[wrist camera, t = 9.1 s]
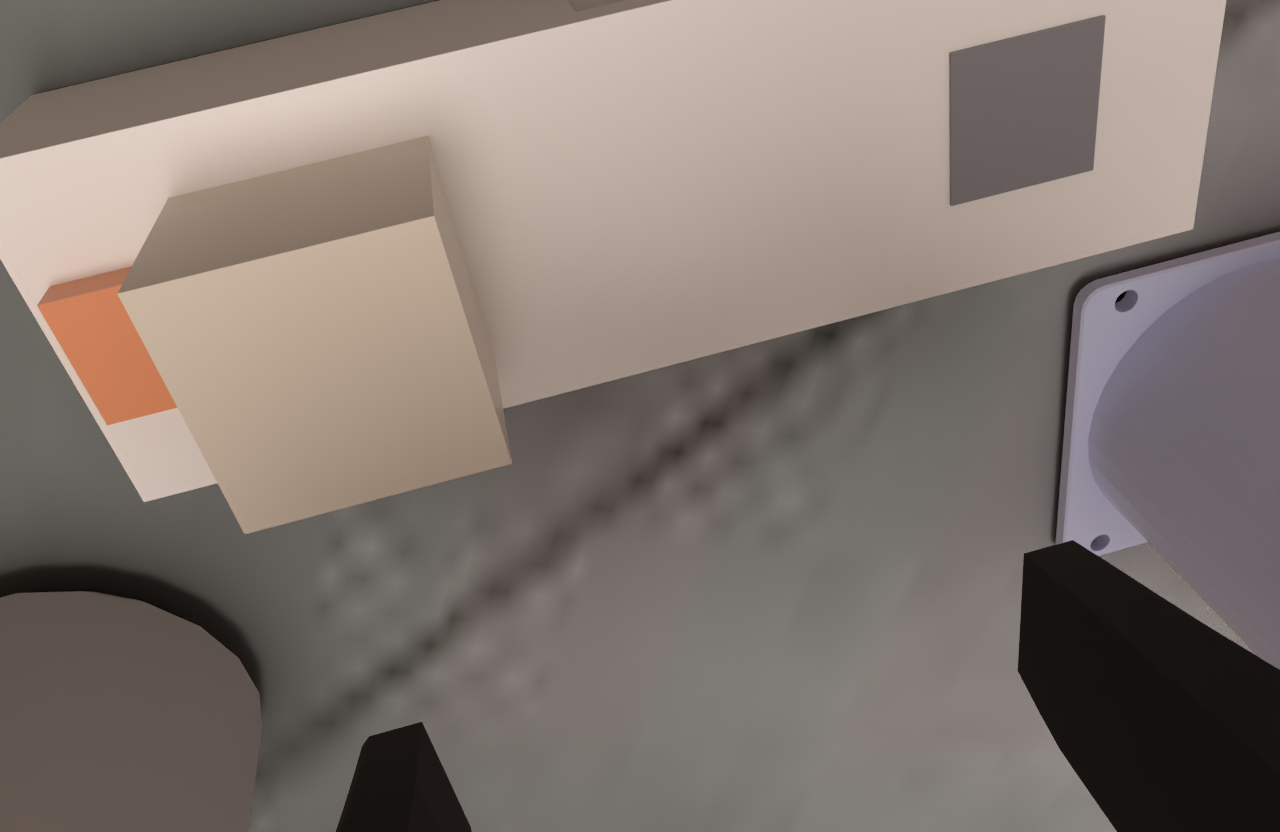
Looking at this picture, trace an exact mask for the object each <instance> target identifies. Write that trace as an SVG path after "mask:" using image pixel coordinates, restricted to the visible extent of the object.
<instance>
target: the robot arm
mask: <svg viewBox="0 0 1280 832" xmlns="http://www.w3.org/2000/svg"><path fill="white" fill-rule="evenodd" d="M1125 291H1127V292H1126V295H1125V297H1124V298H1123V299H1122V300H1121V301H1119V302H1117V303H1115V302H1116V299H1117V298H1118V297H1119V295H1120V294H1121V293H1123V292H1125ZM1146 542H1149V543H1150V544H1151V546H1152V547H1153V548H1154V549H1155V550H1156V551H1157V552H1158V553H1159V554H1160V555H1161V556H1162V557H1163V558H1164V559H1165V560H1166V561H1167V562H1168V563H1169V564H1170V565H1171V566H1172V567H1173V568H1174V569H1175V571H1176V572H1177V573H1178V574H1179V575H1180V576H1181V577H1182V578H1183V579H1184V580H1185V581H1186V582H1187V583H1188V584H1189V585H1190V586H1191V587H1192V588H1193V589H1194V590H1195V591H1196V592H1197V593H1198V594H1199V596H1200V597H1201V598H1202V599H1203V600H1204V601H1205V602H1206V603H1207V604H1208V605H1209V606H1210V607H1211V608H1212V609H1213V610H1214V611H1215V612H1216V613H1217V614H1218V615H1219V616H1220V617H1221V618H1222V619H1223V621H1224V622H1225V623H1226V624H1227V625H1228V626H1229V627H1230V628H1231V629H1232V630H1233V631H1234V632H1235V633H1236V634H1237V635H1238V636H1239V637H1240V638H1241V639H1242V640H1243V641H1244V642H1245V643H1246V644H1247V646H1248V647H1249V648H1250V649H1251V650H1252V651H1253V652H1254V653H1255V654H1256V655H1257V656H1256V655H1254V654H1253V653H1251V652H1249V651H1248V650H1246V649H1244V648H1243V647H1241V646H1239V645H1238V644H1236V643H1234V642H1233V641H1231V640H1229V639H1228V638H1226V637H1224V636H1223V635H1221V634H1219V633H1218V632H1216V631H1215V630H1213V629H1211V628H1210V627H1208V626H1207V625H1205V624H1203V623H1202V622H1200V621H1198V620H1197V619H1195V618H1194V617H1192V616H1191V615H1189V614H1187V613H1186V612H1184V611H1183V610H1181V609H1180V608H1178V607H1176V606H1175V605H1173V604H1172V603H1170V602H1169V601H1167V600H1165V599H1164V598H1162V597H1161V596H1159V595H1158V594H1156V593H1154V592H1153V591H1151V590H1150V589H1148V588H1147V587H1145V586H1144V585H1142V584H1141V583H1139V582H1137V581H1136V580H1134V579H1133V578H1131V577H1130V576H1128V575H1127V574H1125V573H1124V572H1122V571H1120V570H1119V569H1117V568H1116V567H1114V566H1113V565H1111V564H1110V563H1108V562H1107V561H1105V560H1103V559H1102V558H1100V557H1099V556H1100V555H1104V554H1107V553H1111V552H1114V551H1118V550H1121V549H1125V548H1128V547H1132V546H1136V545H1139V544H1143V543H1146ZM1018 672H1019V674H1020V676H1021V678H1022V680H1023V682H1024V684H1025V685H1026V687H1027V689H1028V691H1029V693H1030V695H1031V697H1032V699H1033V701H1034V703H1035V705H1036V707H1037V708H1038V710H1039V712H1040V714H1041V716H1042V718H1043V720H1044V721H1045V723H1046V725H1047V727H1048V729H1049V730H1050V732H1051V734H1052V736H1053V738H1054V739H1055V741H1056V743H1057V745H1058V747H1059V748H1060V750H1061V751H1062V753H1063V754H1064V756H1065V757H1066V759H1067V760H1068V762H1069V763H1070V765H1071V766H1072V768H1073V769H1074V771H1075V772H1076V773H1077V775H1078V776H1079V778H1080V779H1081V781H1082V782H1083V783H1084V785H1085V786H1086V788H1087V789H1088V791H1089V792H1090V794H1091V795H1092V796H1093V798H1094V799H1095V801H1096V802H1097V804H1098V805H1099V806H1100V808H1101V809H1102V811H1103V812H1104V814H1105V815H1106V816H1107V818H1108V819H1109V821H1110V822H1111V824H1112V825H1113V826H1114V828H1115V829H1116V831H1117V832H1280V232H1276V233H1272V234H1269V235H1265V236H1261V237H1257V238H1253V239H1249V240H1246V241H1242V242H1238V243H1234V244H1230V245H1227V246H1223V247H1219V248H1215V249H1211V250H1207V251H1204V252H1200V253H1196V254H1192V255H1188V256H1185V257H1181V258H1177V259H1173V260H1169V261H1165V262H1162V263H1158V264H1154V265H1150V266H1146V267H1143V268H1139V269H1135V270H1131V271H1127V272H1123V273H1120V274H1116V275H1112V276H1108V277H1104V278H1101V279H1097V280H1095V281H1092V282H1090V283H1088V284H1087V285H1086V286H1085V287H1083V288H1082V289H1081V290H1080V292H1079V293H1078V295H1077V296H1076V299H1075V302H1074V307H1073V320H1072V334H1071V347H1070V360H1069V373H1068V387H1067V400H1066V413H1065V426H1064V440H1063V453H1062V466H1061V479H1060V493H1059V506H1058V519H1057V532H1056V545H1053V546H1050V547H1046V548H1043V549H1039V550H1036V551H1032V552H1028V553H1025V554H1024V564H1023V583H1022V602H1021V621H1020V641H1019V660H1018ZM336 832H471V827H470V825H469V823H468V820H467V818H466V816H465V814H464V812H463V810H462V807H461V805H460V803H459V801H458V799H457V797H456V795H455V792H454V790H453V788H452V786H451V784H450V782H449V779H448V777H447V775H446V773H445V771H444V769H443V766H442V764H441V762H440V760H439V758H438V756H437V753H436V751H435V749H434V747H433V745H432V743H431V741H430V738H429V736H428V734H427V732H426V730H425V728H424V725H423V723H422V722H420V723H416V724H413V725H409V726H405V727H402V728H398V729H395V730H391V731H387V732H384V733H380V734H377V735H373V736H370V737H368V739H367V740H366V742H365V743H364V744H363V746H362V749H361V752H360V756H359V759H358V763H357V766H356V770H355V773H354V776H353V780H352V783H351V786H350V790H349V793H348V796H347V799H346V802H345V806H344V809H343V812H342V815H341V818H340V821H339V824H338V827H337V830H336Z"/></svg>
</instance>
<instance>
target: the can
mask: <svg viewBox="0 0 1280 832" xmlns="http://www.w3.org/2000/svg"><path fill="white" fill-rule="evenodd" d="M261 737H262V718H261V706H260V694H259V692H258V690H257V689H256V687H255V685H254V683H253V682H252V680H251V678H250V677H249V675H248V673H247V671H246V670H245V668H244V666H243V665H242V663H241V661H240V659H239V658H238V657H237V656H236V655H234V654H233V653H232V652H231V651H230V650H228V649H227V648H226V647H225V646H223V645H222V644H221V643H220V642H219V641H217V640H216V639H215V638H214V637H212V636H211V635H210V634H209V633H208V632H206V631H205V630H204V629H203V628H202V627H200V626H198V625H196V624H193V623H191V622H189V621H187V620H184V619H182V618H180V617H178V616H175V615H173V614H171V613H168V612H166V611H164V610H162V609H159V608H157V607H155V606H152V605H150V604H148V603H146V602H143V601H141V600H136V599H131V598H125V597H120V596H115V595H109V594H104V593H99V592H85V591H74V592H37V593H16V594H12V595H8V596H5V597H1V598H0V832H248V829H249V822H250V814H251V807H252V800H253V793H254V786H255V779H256V772H257V765H258V758H259V751H260V744H261Z"/></svg>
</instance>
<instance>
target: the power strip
mask: <svg viewBox="0 0 1280 832" xmlns="http://www.w3.org/2000/svg"><path fill="white" fill-rule="evenodd" d="M1225 6H1226V0H439V1H434V2H430V3H426V4H421V5H417V6H413V7H408V8H404V9H400V10H396V11H391V12H387V13H383V14H378V15H374V16H370V17H365V18H361V19H357V20H353V21H348V22H344V23H340V24H335V25H331V26H327V27H322V28H318V29H314V30H309V31H305V32H301V33H297V34H292V35H288V36H284V37H279V38H275V39H271V40H266V41H262V42H258V43H254V44H249V45H245V46H241V47H236V48H232V49H228V50H223V51H219V52H215V53H210V54H206V55H202V56H198V57H193V58H189V59H185V60H180V61H176V62H172V63H167V64H163V65H159V66H155V67H150V68H146V69H142V70H137V71H133V72H129V73H124V74H120V75H116V76H111V77H107V78H103V79H99V80H94V81H90V82H86V83H81V84H77V85H73V86H68V87H64V88H60V89H56V90H51V91H47V92H43V93H38V94H34V95H31V96H30V97H29V98H28V99H27V100H26V101H25V102H24V103H23V104H21V105H20V106H19V107H18V108H17V109H16V110H15V111H14V112H13V113H11V114H10V115H9V116H8V117H7V118H6V119H5V120H4V121H3V122H1V123H0V259H1V261H2V263H3V264H4V266H5V268H6V269H7V271H8V273H9V275H10V276H11V278H12V280H13V281H14V283H15V285H16V286H17V288H18V290H19V291H20V293H21V295H22V296H23V298H24V300H25V302H26V303H27V305H28V307H29V308H30V310H31V312H32V313H33V315H34V317H35V318H36V320H37V322H38V324H39V325H40V327H41V329H42V330H43V332H44V334H45V335H46V337H47V339H48V340H49V342H50V344H51V346H52V347H53V349H54V351H55V352H56V354H57V356H58V357H59V359H60V361H61V362H62V364H63V366H64V368H65V369H66V371H67V373H68V374H69V376H70V378H71V379H72V381H73V383H74V384H75V386H76V388H77V390H78V391H79V393H80V395H81V396H82V398H83V400H84V401H85V403H86V405H87V406H88V408H89V410H90V412H91V413H92V415H93V417H94V418H95V420H96V422H97V423H98V425H99V427H100V428H101V430H102V432H103V433H104V435H105V437H106V439H107V440H108V442H109V444H110V445H111V447H112V449H113V450H114V452H115V454H116V455H117V457H118V459H119V461H120V462H121V464H122V466H123V467H124V469H125V471H126V472H127V474H128V476H129V477H130V479H131V481H132V483H133V484H134V486H135V488H136V489H137V491H138V493H139V494H140V496H141V498H142V499H143V501H144V502H147V501H151V500H155V499H158V498H162V497H166V496H170V495H174V494H178V493H182V492H185V491H189V490H193V489H197V488H201V487H205V486H208V485H212V484H216V483H217V481H216V479H215V477H214V475H213V474H212V472H211V470H210V468H209V466H208V464H207V462H206V460H205V458H204V457H203V455H202V453H201V451H200V449H199V447H198V445H197V443H196V441H195V440H194V438H193V436H192V434H191V432H190V430H189V428H188V426H187V425H186V423H185V421H184V419H183V417H182V415H181V413H180V411H179V409H178V408H177V406H176V404H175V402H174V400H173V398H172V396H171V394H170V392H169V391H168V389H167V387H166V385H165V383H164V381H163V379H162V377H161V375H160V374H159V372H158V370H157V368H156V366H155V364H154V362H153V360H152V359H151V357H150V355H149V353H148V351H147V349H146V347H145V345H144V343H143V342H142V340H141V338H140V336H139V334H138V332H137V330H136V328H135V326H134V325H133V323H132V321H131V319H130V317H129V315H128V313H127V311H126V309H125V308H124V306H123V304H122V302H121V300H120V298H119V296H118V294H117V293H118V291H119V289H120V288H121V286H122V284H123V282H124V280H125V278H126V276H127V274H128V273H129V271H130V269H131V267H132V265H133V263H134V261H135V259H136V258H137V256H138V254H139V252H140V250H141V248H142V246H143V244H144V242H145V241H146V239H147V237H148V235H149V233H150V231H151V229H152V227H153V226H154V224H155V222H156V220H157V218H158V216H159V214H160V212H161V211H162V209H163V207H164V205H165V203H166V201H167V199H168V198H171V197H175V196H179V195H184V194H188V193H192V192H196V191H200V190H204V189H208V188H213V187H217V186H221V185H225V184H229V183H233V182H237V181H242V180H246V179H250V178H254V177H258V176H262V175H266V174H271V173H275V172H279V171H283V170H287V169H291V168H296V167H300V166H304V165H308V164H312V163H316V162H320V161H325V160H329V159H333V158H337V157H341V156H345V155H349V154H354V153H358V152H362V151H366V150H370V149H374V148H379V147H383V146H387V145H391V144H395V143H399V142H403V141H408V140H412V139H416V138H420V137H424V136H428V137H429V141H430V144H431V147H432V151H433V154H434V157H435V160H436V164H437V167H438V170H439V174H440V177H441V180H442V183H443V187H444V190H445V193H446V197H447V200H448V203H449V207H450V210H451V213H452V216H453V220H454V223H455V226H456V230H457V233H458V236H459V240H460V243H461V246H462V249H463V253H464V256H465V259H466V263H467V266H468V269H469V273H470V276H471V279H472V282H473V286H474V289H475V292H476V296H477V299H478V302H479V305H480V309H481V312H482V315H483V319H484V322H485V325H486V329H487V332H488V335H489V338H490V342H491V345H492V348H493V352H494V355H495V361H496V367H497V373H498V380H499V386H500V392H501V398H502V405H503V409H504V408H508V407H512V406H516V405H520V404H524V403H527V402H531V401H535V400H539V399H543V398H547V397H551V396H554V395H558V394H562V393H566V392H570V391H574V390H577V389H581V388H585V387H589V386H593V385H597V384H601V383H604V382H608V381H612V380H616V379H620V378H624V377H627V376H631V375H635V374H639V373H643V372H647V371H650V370H654V369H658V368H662V367H666V366H670V365H674V364H677V363H681V362H685V361H689V360H693V359H697V358H700V357H704V356H708V355H712V354H716V353H720V352H724V351H727V350H731V349H735V348H739V347H743V346H747V345H750V344H754V343H758V342H762V341H766V340H770V339H773V338H777V337H781V336H785V335H789V334H793V333H797V332H800V331H804V330H808V329H812V328H816V327H820V326H823V325H827V324H831V323H835V322H839V321H843V320H847V319H850V318H854V317H858V316H862V315H866V314H870V313H873V312H877V311H881V310H885V309H889V308H893V307H896V306H900V305H904V304H908V303H912V302H916V301H920V300H923V299H927V298H931V297H935V296H939V295H943V294H946V293H950V292H954V291H958V290H962V289H966V288H970V287H973V286H977V285H981V284H985V283H989V282H993V281H996V280H1000V279H1004V278H1008V277H1012V276H1016V275H1019V274H1023V273H1027V272H1031V271H1035V270H1039V269H1043V268H1046V267H1050V266H1054V265H1058V264H1062V263H1066V262H1069V261H1073V260H1077V259H1081V258H1085V257H1089V256H1093V255H1096V254H1100V253H1104V252H1108V251H1112V250H1116V249H1119V248H1123V247H1127V246H1131V245H1135V244H1139V243H1142V242H1146V241H1150V240H1154V239H1158V238H1162V237H1166V236H1169V235H1173V234H1177V233H1181V232H1185V231H1189V230H1192V229H1193V227H1194V220H1195V213H1196V206H1197V200H1198V193H1199V186H1200V179H1201V172H1202V165H1203V158H1204V151H1205V144H1206V137H1207V130H1208V123H1209V117H1210V110H1211V103H1212V96H1213V89H1214V82H1215V75H1216V68H1217V61H1218V54H1219V47H1220V41H1221V34H1222V27H1223V20H1224V13H1225Z"/></svg>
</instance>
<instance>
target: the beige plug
mask: <svg viewBox="0 0 1280 832" xmlns="http://www.w3.org/2000/svg"><path fill="white" fill-rule="evenodd" d="M117 294H118V296H119V298H120V300H121V302H122V304H123V306H124V308H125V309H126V311H127V313H128V315H129V317H130V319H131V321H132V323H133V325H134V326H135V328H136V330H137V332H138V334H139V336H140V338H141V340H142V342H143V343H144V345H145V347H146V349H147V351H148V353H149V355H150V357H151V359H152V360H153V362H154V364H155V366H156V368H157V370H158V372H159V374H160V375H161V377H162V379H163V381H164V383H165V385H166V387H167V389H168V391H169V392H170V394H171V396H172V398H173V400H174V402H175V404H176V406H177V408H178V409H179V411H180V413H181V415H182V417H183V419H184V421H185V423H186V425H187V426H188V428H189V430H190V432H191V434H192V436H193V438H194V440H195V441H196V443H197V445H198V447H199V449H200V451H201V453H202V455H203V457H204V458H205V460H206V462H207V464H208V466H209V468H210V470H211V472H212V474H213V475H214V477H215V479H216V481H217V483H218V485H219V487H220V489H221V491H222V492H223V494H224V496H225V498H226V500H227V502H228V504H229V506H230V507H231V509H232V511H233V513H234V515H235V517H236V519H237V521H238V523H239V524H240V526H241V528H242V530H243V532H244V534H248V533H252V532H256V531H259V530H263V529H267V528H271V527H274V526H278V525H282V524H286V523H290V522H293V521H297V520H301V519H305V518H309V517H312V516H316V515H320V514H324V513H328V512H331V511H335V510H339V509H343V508H346V507H350V506H354V505H358V504H362V503H365V502H369V501H373V500H377V499H381V498H384V497H388V496H392V495H396V494H400V493H403V492H407V491H411V490H415V489H418V488H422V487H426V486H430V485H434V484H437V483H441V482H445V481H449V480H453V479H456V478H460V477H464V476H468V475H472V474H475V473H479V472H483V471H487V470H490V469H494V468H498V467H502V466H506V465H509V464H512V461H511V455H510V448H509V442H508V436H507V430H506V423H505V417H504V411H503V405H502V398H501V392H500V386H499V380H498V373H497V367H496V361H495V355H494V352H493V348H492V345H491V342H490V338H489V335H488V332H487V329H486V325H485V322H484V319H483V315H482V312H481V309H480V305H479V302H478V299H477V296H476V292H475V289H474V286H473V282H472V279H471V276H470V273H469V269H468V266H467V263H466V259H465V256H464V253H463V249H462V246H461V243H460V240H459V236H458V233H457V230H456V226H455V223H454V220H453V216H452V213H451V210H450V207H449V203H448V200H447V197H446V193H445V190H444V187H443V183H442V180H441V177H440V174H439V170H438V167H437V164H436V160H435V157H434V154H433V151H432V147H431V144H430V141H429V137H428V136H424V137H420V138H416V139H412V140H408V141H403V142H399V143H395V144H391V145H387V146H383V147H379V148H374V149H370V150H366V151H362V152H358V153H354V154H349V155H345V156H341V157H337V158H333V159H329V160H325V161H320V162H316V163H312V164H308V165H304V166H300V167H296V168H291V169H287V170H283V171H279V172H275V173H271V174H266V175H262V176H258V177H254V178H250V179H246V180H242V181H237V182H233V183H229V184H225V185H221V186H217V187H213V188H208V189H204V190H200V191H196V192H192V193H188V194H184V195H179V196H175V197H171V198H168V199H167V201H166V203H165V205H164V207H163V209H162V211H161V212H160V214H159V216H158V218H157V220H156V222H155V224H154V226H153V227H152V229H151V231H150V233H149V235H148V237H147V239H146V241H145V242H144V244H143V246H142V248H141V250H140V252H139V254H138V256H137V258H136V259H135V261H134V263H133V265H132V267H131V269H130V271H129V273H128V274H127V276H126V278H125V280H124V282H123V284H122V286H121V288H120V289H119V291H118V293H117Z"/></svg>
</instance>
